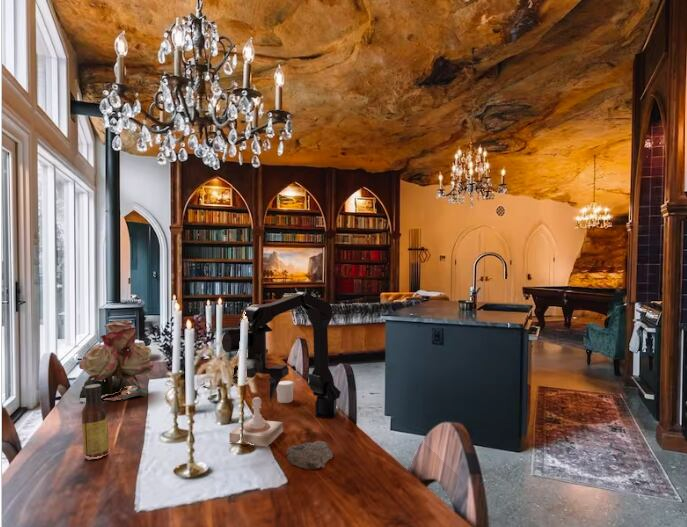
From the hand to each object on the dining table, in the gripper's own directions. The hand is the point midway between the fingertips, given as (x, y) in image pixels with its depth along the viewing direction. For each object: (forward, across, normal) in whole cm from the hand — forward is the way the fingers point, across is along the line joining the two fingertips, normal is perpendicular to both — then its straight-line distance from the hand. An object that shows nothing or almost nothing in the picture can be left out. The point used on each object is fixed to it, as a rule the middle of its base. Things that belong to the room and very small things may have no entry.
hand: (257, 398), depth 141 cm
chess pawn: (+9, 0, 0) cm, 9 cm away
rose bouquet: (+12, -74, +28) cm, 80 cm away
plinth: (+12, 0, -1) cm, 12 cm away
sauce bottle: (+12, -38, -24) cm, 46 cm away
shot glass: (+12, -5, +34) cm, 37 cm away
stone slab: (+13, +21, -10) cm, 26 cm away
